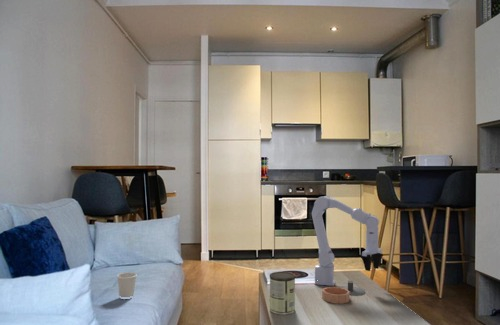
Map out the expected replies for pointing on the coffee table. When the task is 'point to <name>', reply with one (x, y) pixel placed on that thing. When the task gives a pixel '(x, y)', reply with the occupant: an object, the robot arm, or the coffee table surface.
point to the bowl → (335, 295)
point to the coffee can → (282, 293)
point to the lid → (353, 289)
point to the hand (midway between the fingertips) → (371, 269)
